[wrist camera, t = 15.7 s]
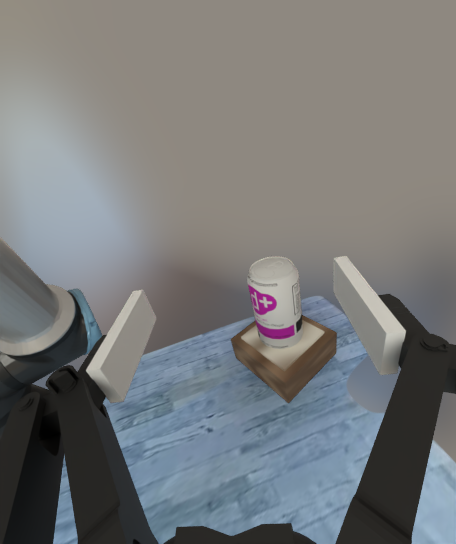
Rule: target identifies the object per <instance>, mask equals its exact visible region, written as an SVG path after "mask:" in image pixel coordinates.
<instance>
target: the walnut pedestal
mask: <svg viewBox="0 0 456 544" xmlns="http://www.w3.org/2000/svg"><path fill="white" fill-rule="evenodd" d="M302 324H303V335H302V339H301V340H300V341H299V342H298V343H297V344H296V345H294V346H292V347H290V348H285V349H275V348H271V347H269V346H266V345H265V344H264V343H263V342H262V341H261V340H260V338H259V335H258V330H257V325H256V321H254V322H253V323H252V324H250V325H249V326H248V327H246V328H245V329H244V330H242V331H241V332H240V333H238V334H237V335H236V336H234V337H233V338H232V339H231V342H232V346H233V349H234V352H235V356H236V358H237V359H238V360H239V361H240V362H241V363H243V364H244V365H245V366H246V367H247V368H248V369H250V370H251V371H252V372H253V373H254V374H255V375H256V376H258V377H259V378H260V379H261V380H262V381H263V382H265V383H266V384H267V385H268V386H269V387H270V388H272V389H273V390H274V391H275V392H276V393H277V394H278V395H280V396H281V397H282V398H283V399H284V400H285V401H287V402H288V403H289V402H290V401H291V400H292V399H293V398H294V397H295V396H296V395H297V394H298V393H299V392H300V391H301V390H302V388H303V387H304V386H305V385H306V384H307V383H308V382H309V381H310V380H311V379H312V378H313V377H314V376H315V375H316V374H317V373H318V372H319V371H320V370H321V368H322V367H323V366H324V365H325V364H326V363H327V362H328V361H329V360H330V359H331V358H332V357H333V356H334V355H335V354H336V337H337V333H336V332H334V331H333V330H331V329H329V328H327V327H325V326H323V325H321V324H319V323H317V322H315V321H313V320H311V319H309V318H307V317H305V316H303V315H302Z"/></svg>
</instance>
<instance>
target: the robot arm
mask: <svg viewBox="0 0 456 544" xmlns="http://www.w3.org/2000/svg"><path fill="white" fill-rule="evenodd" d="M334 294H335V296H336V297H337V299H338V301H339V303H340V305H341V306H342V308H343V310H344V312H345V314H346V315H347V317H348V319H349V321H350V323H351V324H352V326H353V328H354V330H355V331H356V333H357V335H358V337H359V339H360V340H361V342H362V344H363V346H364V348H365V349H366V351H367V353H368V355H369V356H370V358H371V360H372V362H373V364H374V365H375V367H376V369H377V371H378V373H379V374H380V375H386V374H396V373H397V372H398V367H399V366H400V367H401V371H400V374H399V377H398V379H397V383H396V385H395V388H394V390H393V393H392V396H391V399H390V401H389V404H388V407H387V410H386V412H385V415H384V418H383V420H382V423H381V426H380V429H379V431H378V434H377V437H376V440H375V442H374V445H373V448H372V451H371V453H370V456H369V459H368V462H367V464H366V467H365V470H364V473H363V475H362V478H361V481H360V484H359V486H358V489H357V492H356V494H355V495H354V497H353V499H352V501H351V503H350V506H349V508H348V511H347V514H346V516H345V519H344V522H343V525H342V527H341V530H340V533H339V535H338V538H337V541H336V544H411V543H412V531H413V526H414V522H415V517H416V513H417V508H418V504H419V499H420V494H421V490H422V485H423V481H424V476H425V472H426V467H427V463H428V458H429V453H430V449H431V444H432V440H433V435H434V430H435V426H436V421H437V417H438V412H439V407H440V403H441V399H442V394H443V392H449V393H455V394H456V345H453V344H449V343H448V342H447V341H446V340H444V339H443V338H441V337H439V336H436V335H434V334H430V333H429V332H428V331H427V330H426V329H425V328H424V327H423V326H422V325H421V323H420V322H419V321H418V320H417V319H416V318H415V317H414V316H413V315H412V314H411V313H410V311H409V310H408V309H407V308H406V307H405V306H404V305H403V303H402V302H401V301H400V300H399V299H397V298H396V297H394V296H392V295H390V294H385V295H377V294H376V293H375V292H374V290H373V289H372V288H371V287H370V285H369V284H368V283H367V282H366V280H365V279H364V278H363V277H362V275H361V274H360V273H359V272H358V270H357V269H356V268H355V267H354V265H353V264H352V263H351V262H350V260H349V259H348V258H347V257H346V256H343V257H337V258H334ZM156 319H157V318H156V316H155V314H154V312H153V310H152V308H151V305H150V303H149V301H148V299H147V297H146V295H145V293H144V291H143V290H138V291H133V292H132V294H131V296H130V298H129V299H128V301H127V302H126V304H125V306H124V307H123V309H122V311H121V312H120V314H119V316H118V317H117V319H116V321H115V323H114V324H113V326H112V327H111V329H110V331H109V332H108V334H107V335H103V336H102V333H101V331H100V329H99V326H98V324H97V322H96V321H95V318H94V316H93V313H92V311H91V309H90V307H89V305H88V303H87V301H86V299H85V297H84V295H83V293H82V292H81V291H80V290H79V289H73V290H68V291H66V290H64V289H63V288H60V287H57V286H54V285H48V284H45V283H44V282H43V281H42V280H41V279H40V278H39V277H38V276H37V275H36V274H35V273H34V272H33V271H32V270H31V268H30V267H29V266H28V265H27V264H26V263H25V262H24V261H23V260H22V259H21V258H20V257H19V256H18V255H17V254H16V253H15V252H14V251H13V250H12V249H11V248H10V247H9V246H8V244H7V243H6V242H5V241H4V240H3V239H2V238H1V237H0V544H53V539H54V531H55V523H56V515H57V507H58V499H59V491H60V483H61V475H62V467H63V459H64V454H65V461H66V467H67V473H68V479H69V486H70V492H71V498H72V504H73V511H74V517H75V523H76V529H77V535H78V544H158V542H157V540H156V538H155V537H154V535H153V534H152V532H151V530H150V527H149V525H148V522H147V519H146V517H145V514H144V511H143V508H142V506H141V503H140V500H139V497H138V495H137V492H136V489H135V487H134V484H133V481H132V478H131V476H130V473H129V470H128V467H127V465H126V462H125V459H124V457H123V454H122V451H121V448H120V446H119V443H118V440H117V437H116V435H115V432H114V429H113V427H112V424H111V421H110V418H109V416H108V413H107V410H106V407H105V406H104V405H103V401H104V399H105V397H106V398H107V399H108V400H109V402H110V403H116V402H124V399H125V397H126V394H127V392H128V389H129V387H130V384H131V382H132V379H133V377H134V374H135V372H136V369H137V367H138V364H139V362H140V359H141V357H142V354H143V352H144V348H145V346H146V344H147V341H148V339H149V336H150V334H151V331H152V329H153V326H154V324H155V321H156ZM89 351H90V353H89ZM88 353H89V354H88ZM86 354H88V356H87V358H86V359H85V361H84V362H83V364H82V366H81V367H80V369H79V371H78V372H77V371H76V370H75V369H74V367H73V366H70V365H68V366H64V365H66V364H68V363H70V362H71V361H73V360H75V359H77V358H79V357H80V356H82V355H86ZM62 366H63V367H62ZM57 369H58V370H57ZM55 370H56V371H55ZM54 371H55V372H54ZM52 372H53V374H52V375H51V376H50V377H49V378H48V380H47V381H46V386H47V387H48V389H49V390H47V389H45V388H42V387H39V386H36V385H33V384H32V383H34V382H35V381H37V380H39V379H41V378H43V377H45V376H46V375H48V374H50V373H52ZM164 544H316V543H315V542H314V541H312V540H311V539H309V538H308V537H306V536H304V535H302V534H300V533H297V532H294V531H293V529H292V524H291V523H287V524H261V525H259V526H257V527H254V528H252V529H249V530H247V531H244V532H242V533H240V534H237V535H234V536H229V535H226V534H224V533H221V532H218V531H215V530H213V529H210V528H207V527H204V526H192V527H177V528H176V535H175V537H173V538H171V539H169V540H168V541H166V542H165V543H164Z"/></svg>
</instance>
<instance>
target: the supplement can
mask: <svg viewBox="0 0 456 544" xmlns="http://www.w3.org/2000/svg"><path fill="white" fill-rule="evenodd" d="M247 281H248V286H249V291H250V296H251V300H252V306H253V311H254V316H255V321H256V325H257V330H258V335H259V338H260V340H261V341H262V342H263V343H264V344H265V345H266V346H269V347H271V348H275V349H285V348H290V347H292V346H294V345H296V344H297V343H298V342H299V341H300V340H301V339H302V335H303V324H302V311H301V299H300V285H299V274H298V270H297V269H296V267H295V266H294V265H293V262H292V261H291V260H290V259H287V258H285V257H278V256H276V257H275V256H274V257H267V258H263V259H260V260H258V261H256V262H255V263H253V264H252V266H251V267H250V271H249V274H248V279H247Z"/></svg>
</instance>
